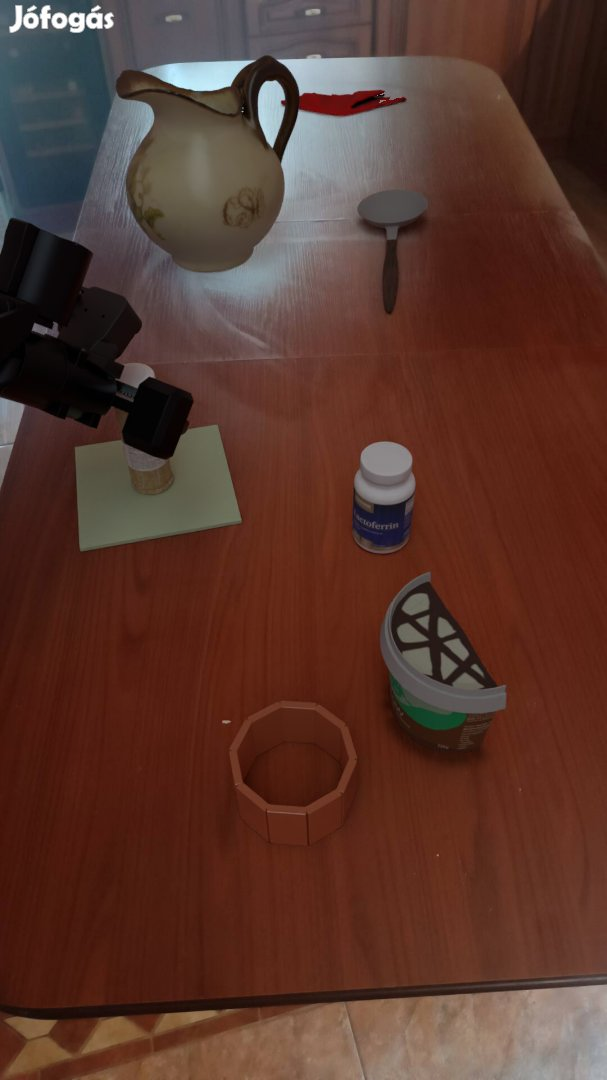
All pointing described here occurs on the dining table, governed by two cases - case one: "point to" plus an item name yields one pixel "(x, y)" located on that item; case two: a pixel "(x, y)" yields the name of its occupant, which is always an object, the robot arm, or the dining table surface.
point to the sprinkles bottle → (143, 468)
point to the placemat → (132, 516)
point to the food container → (436, 673)
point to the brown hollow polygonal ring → (302, 727)
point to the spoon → (392, 228)
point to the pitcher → (208, 166)
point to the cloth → (344, 102)
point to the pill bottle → (383, 498)
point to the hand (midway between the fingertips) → (150, 412)
